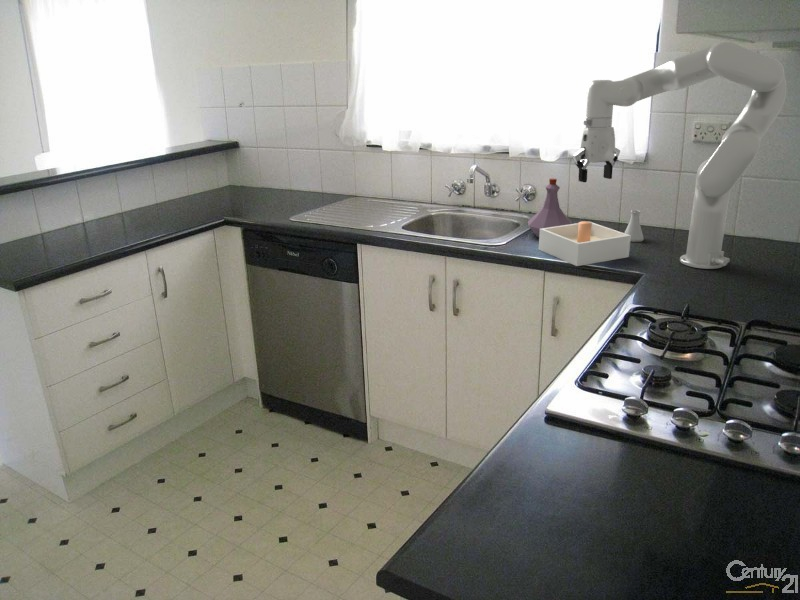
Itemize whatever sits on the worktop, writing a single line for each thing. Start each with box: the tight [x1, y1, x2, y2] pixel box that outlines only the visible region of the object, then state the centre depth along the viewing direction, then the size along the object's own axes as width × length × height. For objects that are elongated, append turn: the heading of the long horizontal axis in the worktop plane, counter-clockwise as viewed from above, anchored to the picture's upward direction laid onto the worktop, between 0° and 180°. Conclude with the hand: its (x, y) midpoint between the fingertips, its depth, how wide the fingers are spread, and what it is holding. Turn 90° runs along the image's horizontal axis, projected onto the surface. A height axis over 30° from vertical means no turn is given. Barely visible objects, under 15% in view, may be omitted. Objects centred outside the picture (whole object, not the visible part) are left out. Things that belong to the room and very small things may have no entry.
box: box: [538, 221, 631, 267], centre depth 216 cm, size 20×20×7 cm
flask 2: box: [624, 209, 645, 243], centre depth 229 cm, size 7×7×10 cm
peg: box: [577, 220, 593, 243], centre depth 215 cm, size 4×4×10 cm
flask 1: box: [527, 178, 573, 238], centre depth 234 cm, size 16×16×20 cm
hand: (595, 179), depth 209 cm, fingers open, 9 cm apart
